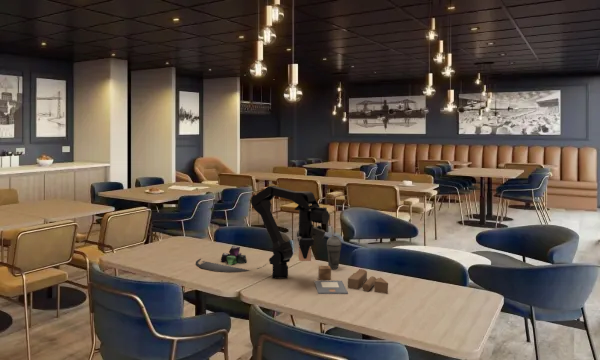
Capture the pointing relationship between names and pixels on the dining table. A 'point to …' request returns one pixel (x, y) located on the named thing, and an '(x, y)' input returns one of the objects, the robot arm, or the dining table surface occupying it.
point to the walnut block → (324, 273)
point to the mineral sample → (229, 258)
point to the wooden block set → (367, 282)
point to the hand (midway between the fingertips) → (304, 257)
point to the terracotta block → (307, 255)
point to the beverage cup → (333, 251)
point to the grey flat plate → (330, 287)
